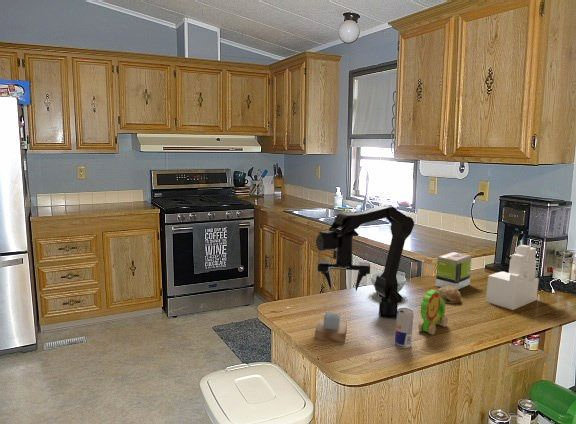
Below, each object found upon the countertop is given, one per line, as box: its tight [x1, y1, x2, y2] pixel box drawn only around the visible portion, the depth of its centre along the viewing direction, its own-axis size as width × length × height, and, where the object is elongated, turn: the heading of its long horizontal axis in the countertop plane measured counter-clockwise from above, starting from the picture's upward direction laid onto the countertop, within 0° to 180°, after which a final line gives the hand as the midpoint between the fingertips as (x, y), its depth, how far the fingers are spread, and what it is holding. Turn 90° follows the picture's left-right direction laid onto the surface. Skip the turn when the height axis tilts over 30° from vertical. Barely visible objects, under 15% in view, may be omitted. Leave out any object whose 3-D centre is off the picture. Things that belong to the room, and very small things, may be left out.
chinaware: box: [370, 272, 407, 293], centre depth 201 cm, size 15×15×8 cm
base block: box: [314, 319, 348, 343], centre depth 157 cm, size 10×10×3 cm
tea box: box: [435, 251, 472, 291], centre depth 216 cm, size 15×10×15 cm, turn 133°
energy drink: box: [394, 307, 415, 349], centre depth 150 cm, size 5×5×12 cm
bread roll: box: [436, 286, 462, 304], centre depth 197 cm, size 10×10×8 cm
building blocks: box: [485, 244, 540, 311], centre depth 196 cm, size 21×12×25 cm, turn 128°
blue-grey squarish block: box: [323, 311, 341, 330], centre depth 156 cm, size 5×5×4 cm
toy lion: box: [417, 289, 449, 336], centre depth 163 cm, size 16×5×15 cm, turn 137°
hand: (343, 289), depth 167 cm, fingers open, 9 cm apart
